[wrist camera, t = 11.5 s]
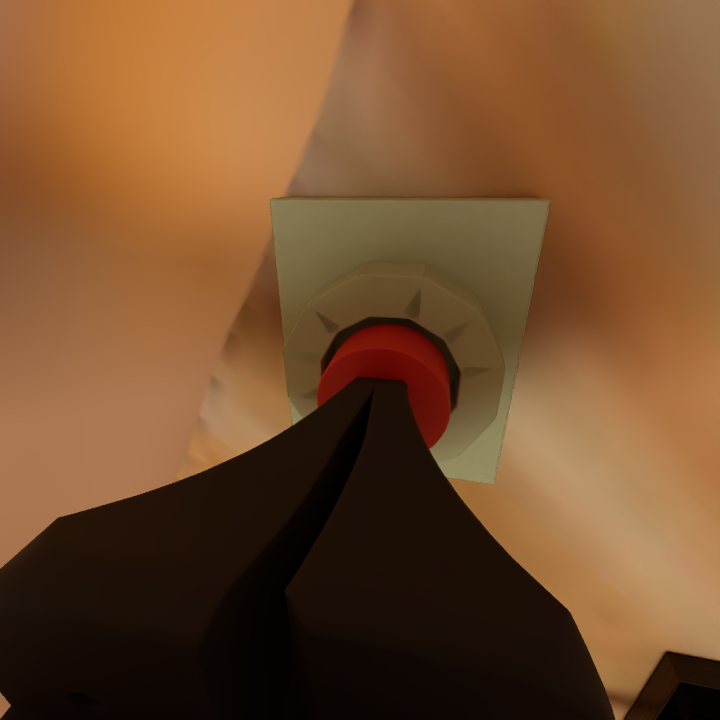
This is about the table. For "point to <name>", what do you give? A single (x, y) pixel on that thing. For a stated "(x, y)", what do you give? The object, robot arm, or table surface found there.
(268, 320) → the table surface
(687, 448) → the table surface
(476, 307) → the button block
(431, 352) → the button
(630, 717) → the bracket
